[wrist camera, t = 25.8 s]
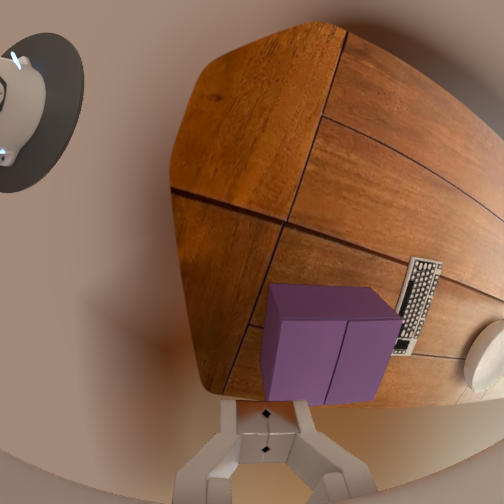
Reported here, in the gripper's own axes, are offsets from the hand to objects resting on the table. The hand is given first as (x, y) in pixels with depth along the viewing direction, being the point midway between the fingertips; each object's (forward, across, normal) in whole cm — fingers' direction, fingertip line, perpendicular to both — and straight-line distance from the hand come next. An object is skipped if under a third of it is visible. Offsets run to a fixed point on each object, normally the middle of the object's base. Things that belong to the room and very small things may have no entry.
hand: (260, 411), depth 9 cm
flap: (+19, +8, -13) cm, 25 cm away
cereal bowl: (+29, +54, -20) cm, 65 cm away
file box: (+29, +12, -13) cm, 34 cm away
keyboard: (+29, +28, -10) cm, 42 cm away
